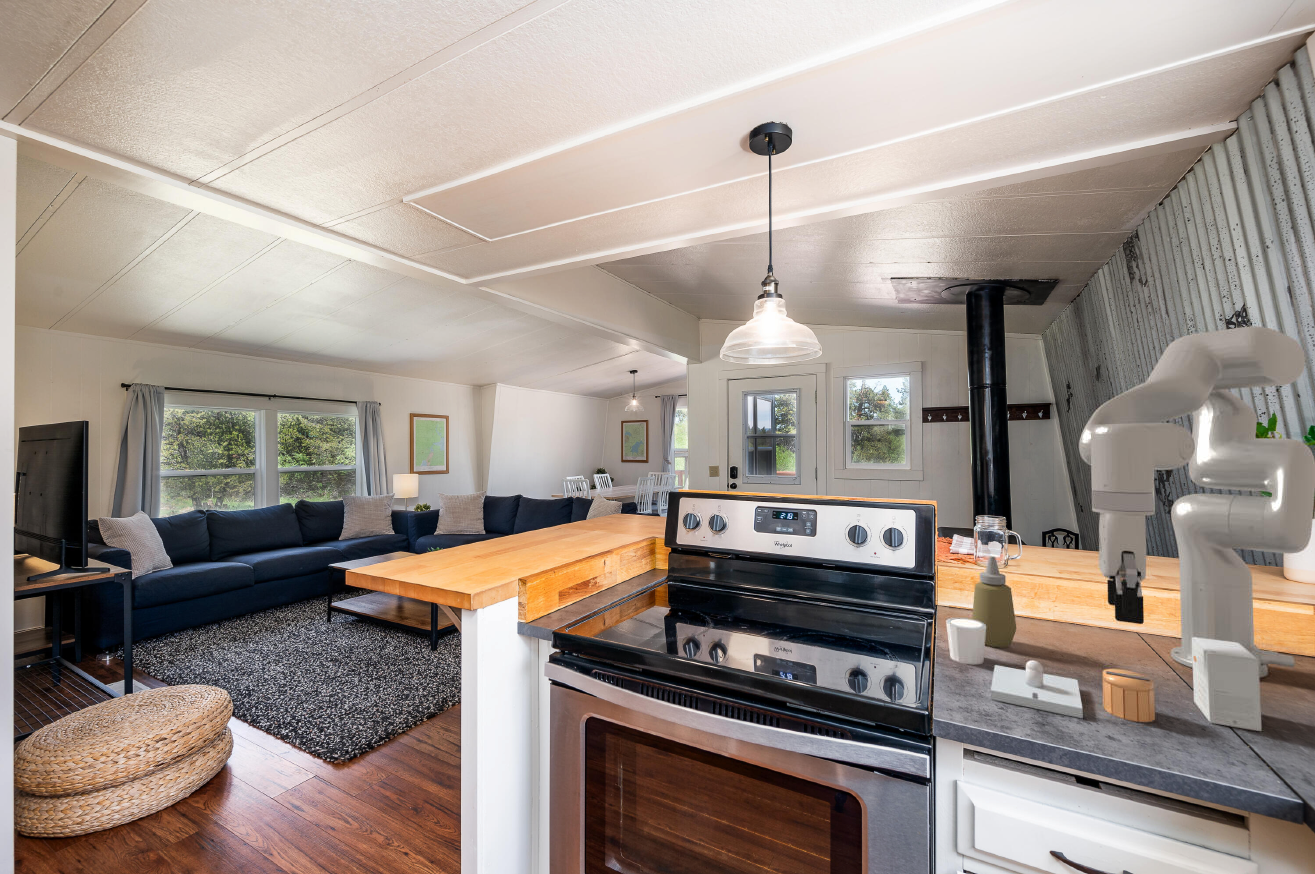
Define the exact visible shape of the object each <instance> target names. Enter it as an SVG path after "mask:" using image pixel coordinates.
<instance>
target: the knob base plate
mask: <svg viewBox="0 0 1315 874" xmlns="http://www.w3.org/2000/svg"><path fill="white" fill-rule="evenodd" d="M990 700H992V701H997V702H1001V703H1003V702H1004V703H1008V704H1012V705H1017V706H1022V707H1025V708H1032V709H1036V710H1041V711H1046V712H1050V713H1055V714H1059V715H1064V716H1069V717H1074V718H1079V719H1083V717H1084V715H1083V704H1082V699H1081V693H1080V689H1079V681H1078V679H1075V678H1070V677H1064V676H1059V675H1053V674H1048V673H1044V667H1043V664H1041V663H1040V662H1039V661H1037V660H1029V661H1027V662H1026V664H1025V669H1020V668H1019V669H1018V668H1015V667H1014V668H1013V667H1010V666H1009V667H1007V666H1003V665H997V664H994V669H993V674H992V680H991V687H990Z"/></svg>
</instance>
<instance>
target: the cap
mask: <svg viewBox="0 0 1315 874" xmlns="http://www.w3.org/2000/svg"><path fill="white" fill-rule="evenodd" d="M1155 703H1156V702H1155V687H1154V680H1153V679H1152V678H1150V677H1149V676H1147V675H1144V674H1142V673H1139V672H1136V671H1133V670H1132V671H1131V670H1128V669H1127V670H1126V669H1120V668H1107V669H1104V670H1103V671H1102V704H1103V709H1104V710H1105V711H1106V712H1107V713H1109V714H1110V715H1112V716H1114V717H1117V718H1121V719H1124V720H1127V721H1130V722H1131V721H1132V722H1137V723H1138V722H1139V723H1149V722H1150V723H1151V722H1153V721H1155V720H1156V710H1155V709H1156V707H1155Z"/></svg>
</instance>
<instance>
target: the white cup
mask: <svg viewBox="0 0 1315 874" xmlns="http://www.w3.org/2000/svg"><path fill="white" fill-rule="evenodd" d="M945 622H946V631H947V638H948V639H947V640H948V649H949V655H950V659H952V660H953V661H956V662H958V663H961V664H965V665H981V664H983V663H984V658H985V647H986V646H985V635H986V625H985V624H984V623H982V622H980V621H976V620H972V618H971V619H970V618H965V617H951V618H947V619H946V620H945Z"/></svg>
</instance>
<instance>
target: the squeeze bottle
mask: <svg viewBox="0 0 1315 874" xmlns="http://www.w3.org/2000/svg"><path fill="white" fill-rule="evenodd" d="M986 563H987V564H986V569H985V571H982V572H980V573H979V582H977V583H975V585H974V593H973V603H972V604H973V605H972V618H971V619H972V620H976V621H980V622H982V623H984V624H985V625H986V635H985V645H986V646H988V647H993V648H1008V647H1011V645H1012V643H1013V640H1014V637H1015V635H1016V632H1017V623H1016V616H1015V608H1014V600H1013V594H1012V588H1011V587H1010V586H1009V585H1007V584H1006V582H1007V581H1006V579H1007V578H1006V575H1005V574H1004V573H1001V572H1000V569H999V566H998V562H997V558H996V556H992V555H991V556H990V555H989V556H988V559H987V562H986Z"/></svg>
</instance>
